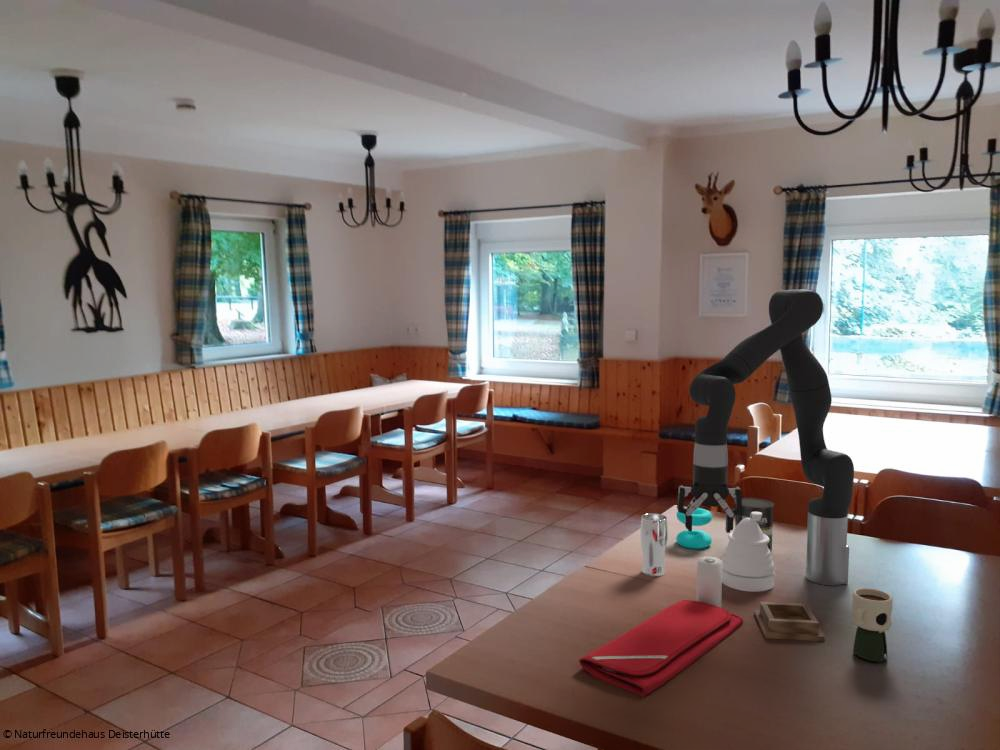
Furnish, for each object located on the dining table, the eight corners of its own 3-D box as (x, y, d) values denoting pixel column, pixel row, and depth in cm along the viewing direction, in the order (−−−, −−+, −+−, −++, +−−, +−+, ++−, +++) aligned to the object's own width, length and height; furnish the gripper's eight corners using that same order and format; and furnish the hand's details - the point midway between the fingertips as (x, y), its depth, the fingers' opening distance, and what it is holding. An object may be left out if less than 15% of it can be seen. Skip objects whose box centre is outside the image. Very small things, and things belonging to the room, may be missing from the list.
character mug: (873, 672, 145) (876, 607, 144) (838, 658, 151) (840, 595, 150) (901, 655, 152) (904, 593, 150) (866, 642, 157) (869, 582, 156)
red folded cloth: (744, 626, 167) (745, 610, 166) (646, 701, 137) (647, 681, 136) (680, 607, 177) (680, 592, 177) (576, 672, 147) (576, 654, 147)
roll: (719, 601, 179) (720, 556, 177) (723, 611, 173) (724, 565, 172) (694, 600, 180) (695, 555, 178) (698, 610, 174) (699, 564, 173)
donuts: (671, 512, 217) (683, 504, 226) (671, 546, 218) (682, 536, 227) (706, 518, 212) (716, 509, 220) (705, 552, 213) (715, 542, 222)
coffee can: (773, 558, 207) (774, 508, 206) (734, 555, 210) (735, 506, 209) (771, 546, 217) (772, 498, 216) (734, 543, 220) (735, 496, 219)
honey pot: (766, 573, 197) (768, 506, 195) (780, 592, 184) (782, 521, 182) (716, 572, 198) (717, 505, 196) (726, 591, 185) (727, 520, 183)
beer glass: (669, 577, 195) (670, 520, 193) (642, 577, 195) (643, 520, 193) (664, 567, 202) (665, 513, 200) (638, 567, 202) (638, 513, 200)
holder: (809, 617, 170) (809, 602, 170) (824, 641, 158) (825, 625, 158) (754, 614, 172) (754, 599, 171) (765, 638, 160) (765, 622, 159)
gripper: (739, 459, 175) (737, 527, 177) (676, 458, 177) (675, 525, 179) (745, 466, 168) (743, 537, 169) (680, 465, 170) (678, 535, 171)
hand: (708, 531), depth 174 cm, fingers open, 8 cm apart
